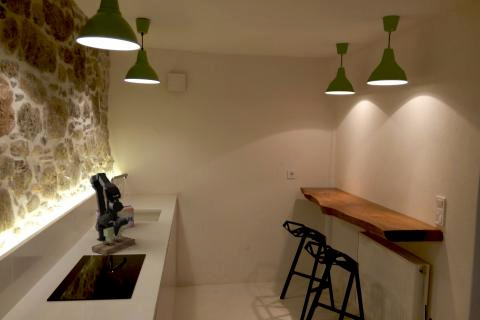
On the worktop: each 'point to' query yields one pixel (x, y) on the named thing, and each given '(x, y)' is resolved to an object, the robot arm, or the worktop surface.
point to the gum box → (124, 216)
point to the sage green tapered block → (112, 233)
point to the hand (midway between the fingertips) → (113, 235)
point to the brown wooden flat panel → (113, 245)
